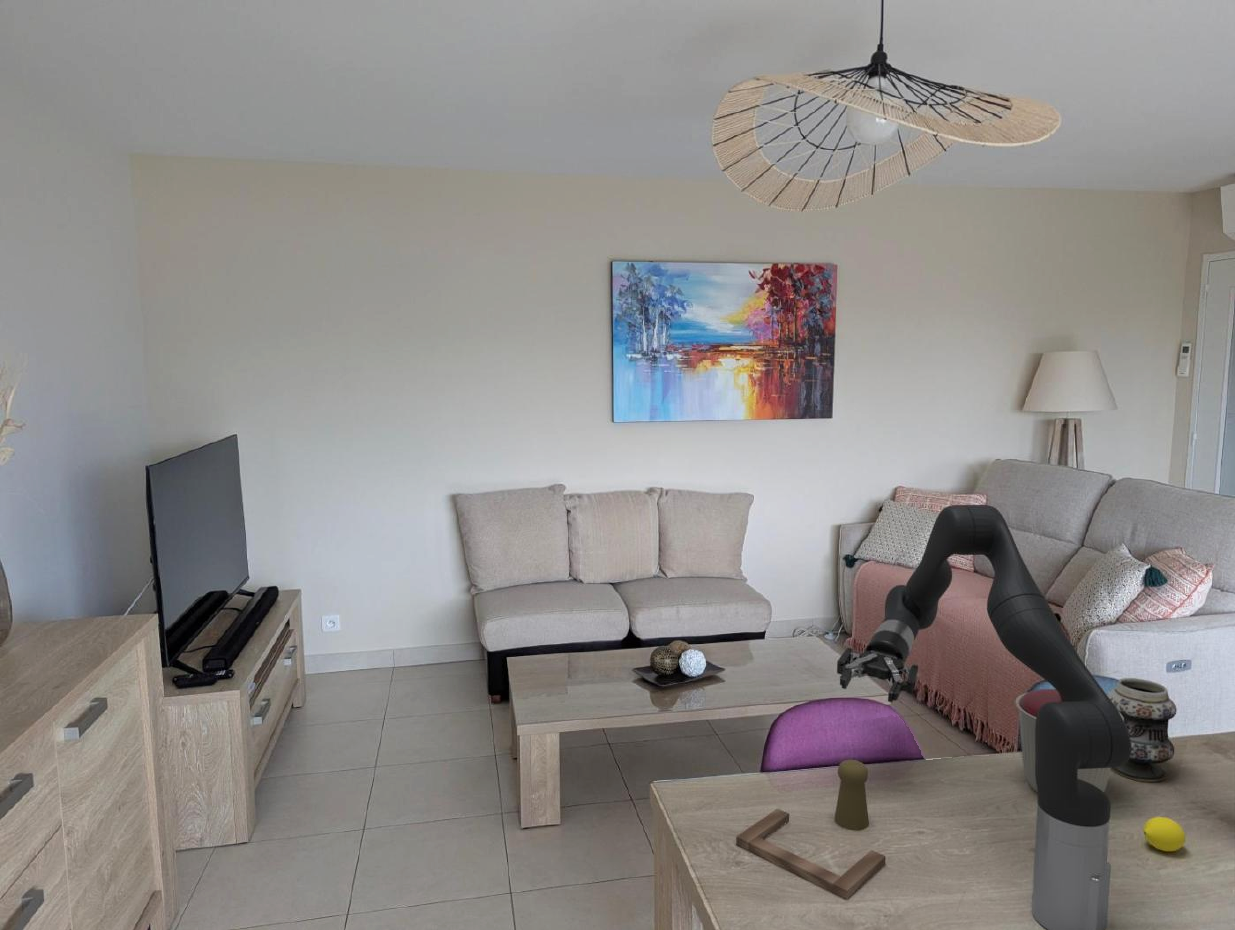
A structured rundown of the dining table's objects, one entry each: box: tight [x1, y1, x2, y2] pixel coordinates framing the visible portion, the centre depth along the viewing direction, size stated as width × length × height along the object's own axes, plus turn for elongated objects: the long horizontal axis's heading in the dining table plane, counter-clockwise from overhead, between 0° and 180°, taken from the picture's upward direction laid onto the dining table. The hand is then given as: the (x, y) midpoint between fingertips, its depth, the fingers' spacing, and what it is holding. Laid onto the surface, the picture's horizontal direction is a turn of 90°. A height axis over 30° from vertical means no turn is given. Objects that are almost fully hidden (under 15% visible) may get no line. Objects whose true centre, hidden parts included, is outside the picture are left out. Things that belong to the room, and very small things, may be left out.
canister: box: [1015, 688, 1124, 793], centre depth 155 cm, size 18×18×21 cm
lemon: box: [1143, 816, 1186, 853], centre depth 137 cm, size 7×5×5 cm
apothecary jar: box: [1106, 677, 1177, 783], centre depth 163 cm, size 12×12×18 cm
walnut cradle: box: [735, 808, 886, 900], centre depth 136 cm, size 21×12×2 cm, turn 45°
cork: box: [834, 759, 870, 831], centre depth 146 cm, size 6×6×11 cm
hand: (866, 691), depth 149 cm, fingers open, 8 cm apart
